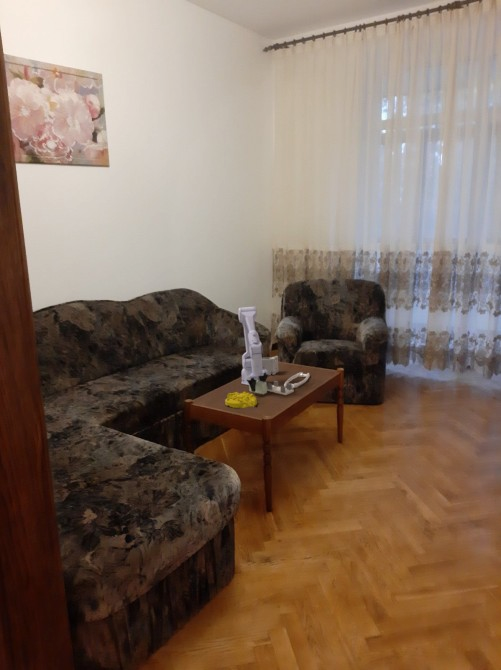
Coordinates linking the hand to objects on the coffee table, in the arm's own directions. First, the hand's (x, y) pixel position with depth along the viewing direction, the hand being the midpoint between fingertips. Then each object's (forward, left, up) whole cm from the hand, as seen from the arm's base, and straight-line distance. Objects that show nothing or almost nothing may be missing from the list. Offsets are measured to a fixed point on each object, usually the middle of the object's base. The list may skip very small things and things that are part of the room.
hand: (258, 389), depth 271 cm
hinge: (-16, +28, -2) cm, 33 cm away
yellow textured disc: (+3, -17, -2) cm, 18 cm away
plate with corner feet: (+9, +8, -1) cm, 12 cm away
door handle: (+8, +26, -2) cm, 27 cm away
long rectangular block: (0, 0, -2) cm, 2 cm away
